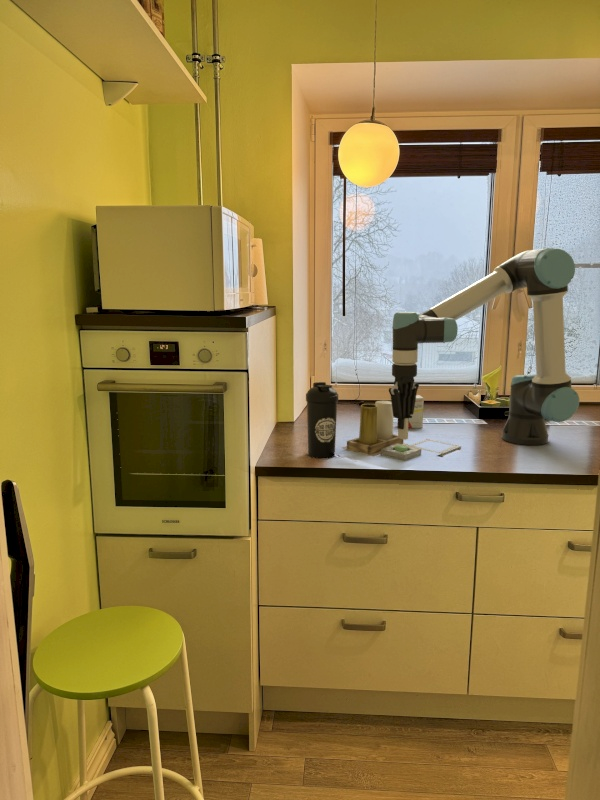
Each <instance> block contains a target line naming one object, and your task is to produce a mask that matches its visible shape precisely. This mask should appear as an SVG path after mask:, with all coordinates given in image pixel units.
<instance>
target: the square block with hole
mask: <svg viewBox="0 0 600 800" xmlns="http://www.w3.org/2000/svg"><path fill="white" fill-rule="evenodd" d="M396 445H402V444H398V443H397V444H394V445H391V446H388V447H385V448H382V449H381V454H380V455H381V456H384V457H388V458H392V459H395V460H396V459H397V460H400V461H404V462H405V461H409V460H410V459H413V458H415V457H419V456H422V449H419V448H415V447H411V446H407V445H405V446H407V447H408V451H405V452H400V451H396V450H395V446H396Z"/></svg>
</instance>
